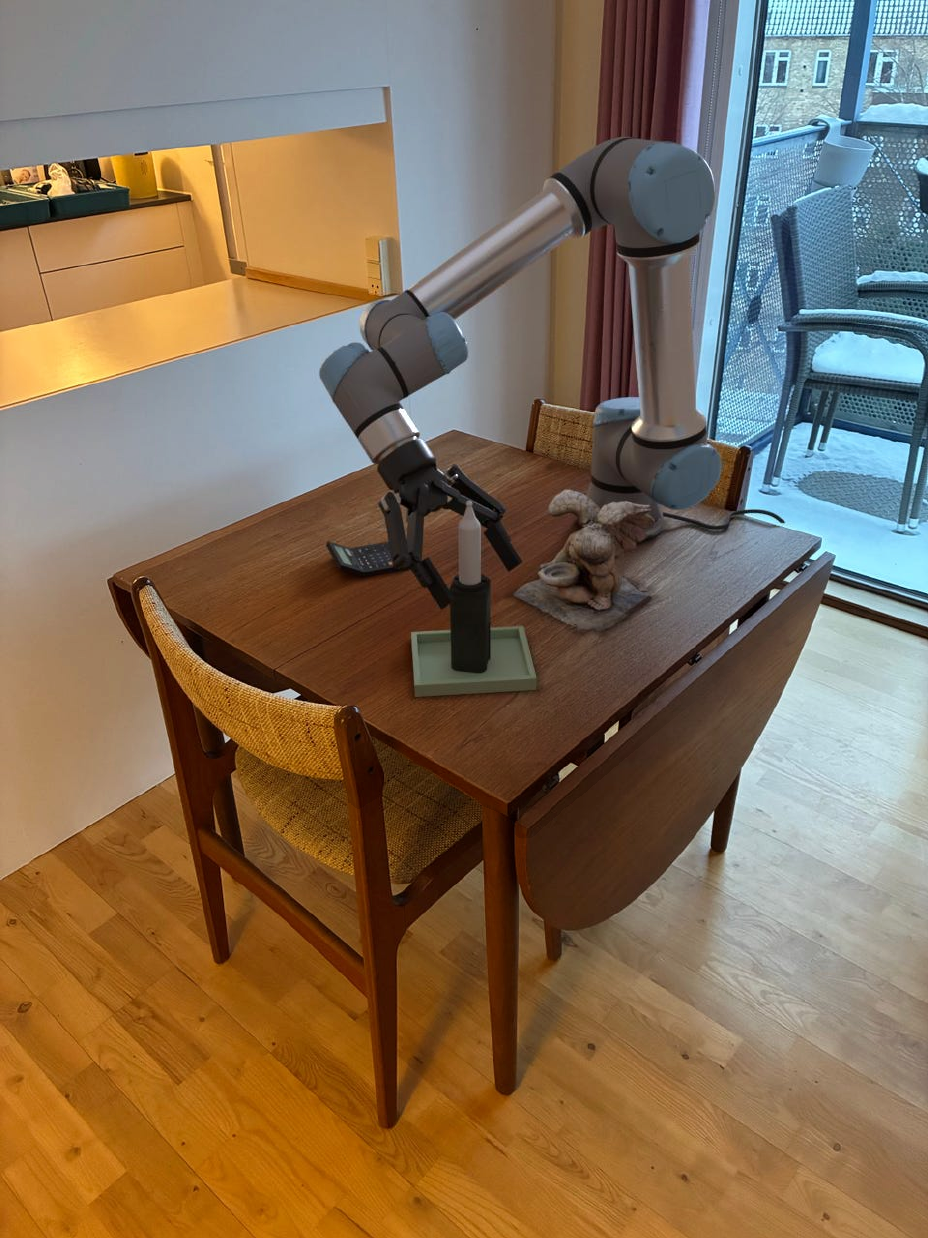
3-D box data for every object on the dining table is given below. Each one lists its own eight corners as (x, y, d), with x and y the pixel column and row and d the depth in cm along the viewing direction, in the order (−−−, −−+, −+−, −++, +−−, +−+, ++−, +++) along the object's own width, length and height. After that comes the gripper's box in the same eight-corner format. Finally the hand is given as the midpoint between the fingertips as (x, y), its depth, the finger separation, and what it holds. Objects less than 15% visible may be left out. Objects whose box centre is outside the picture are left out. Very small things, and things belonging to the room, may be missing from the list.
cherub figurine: (504, 597, 153) (505, 494, 144) (574, 559, 164) (579, 460, 155) (593, 638, 142) (601, 529, 133) (662, 593, 153) (673, 490, 144)
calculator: (407, 568, 162) (406, 552, 160) (340, 581, 158) (338, 565, 157) (391, 545, 169) (390, 530, 168) (327, 556, 166) (325, 541, 164)
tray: (523, 637, 143) (523, 625, 142) (536, 690, 131) (536, 678, 130) (411, 643, 142) (410, 631, 141) (414, 697, 130) (414, 685, 129)
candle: (485, 674, 134) (484, 510, 121) (449, 670, 135) (445, 507, 122) (492, 654, 138) (492, 494, 125) (457, 651, 139) (453, 491, 126)
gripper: (447, 440, 140) (526, 563, 139) (316, 493, 124) (403, 632, 123) (474, 413, 134) (556, 541, 133) (340, 465, 118) (431, 611, 117)
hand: (483, 585), depth 128 cm, fingers open, 13 cm apart
